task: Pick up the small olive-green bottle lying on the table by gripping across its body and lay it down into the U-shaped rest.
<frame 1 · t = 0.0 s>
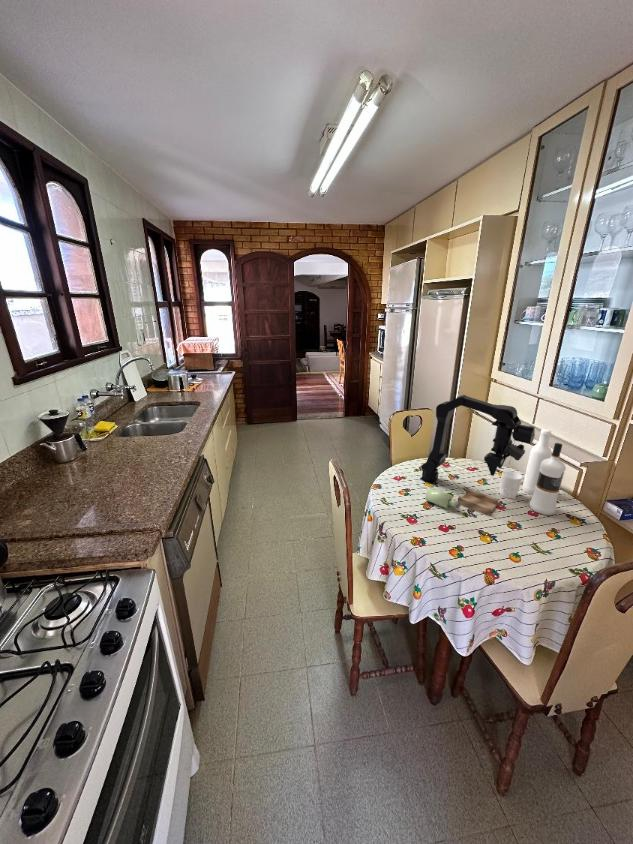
hand: (496, 471, 145), 15 cm above the table, fingers open, 9 cm apart
white cup: (507, 494, 156), on the table
bottle 2: (531, 491, 159), on the table
bottle: (437, 503, 149), on the table
vodka: (541, 510, 145), on the table
rest: (477, 504, 148), on the table
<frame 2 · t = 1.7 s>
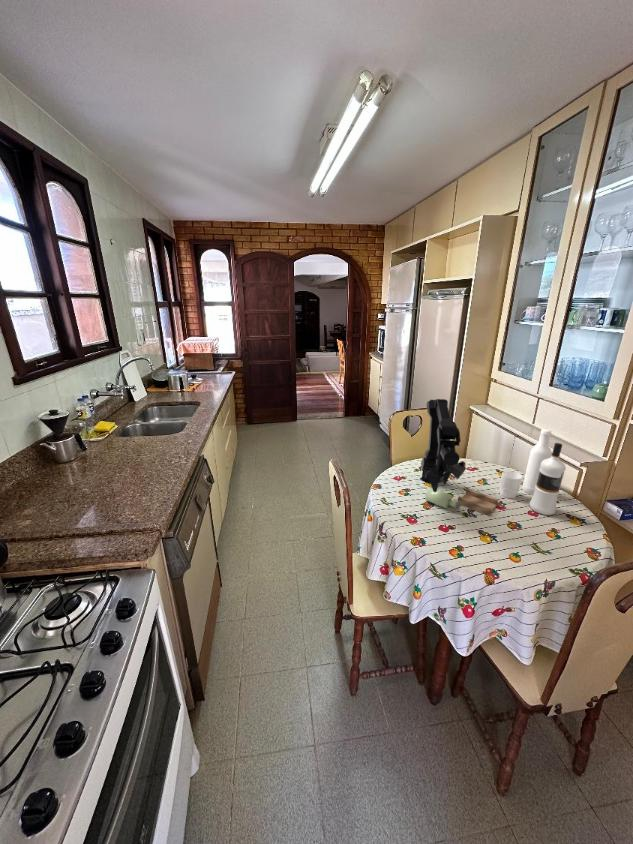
hand: (439, 487, 146), 8 cm above the table, fingers open, 9 cm apart
nothing on the table moved.
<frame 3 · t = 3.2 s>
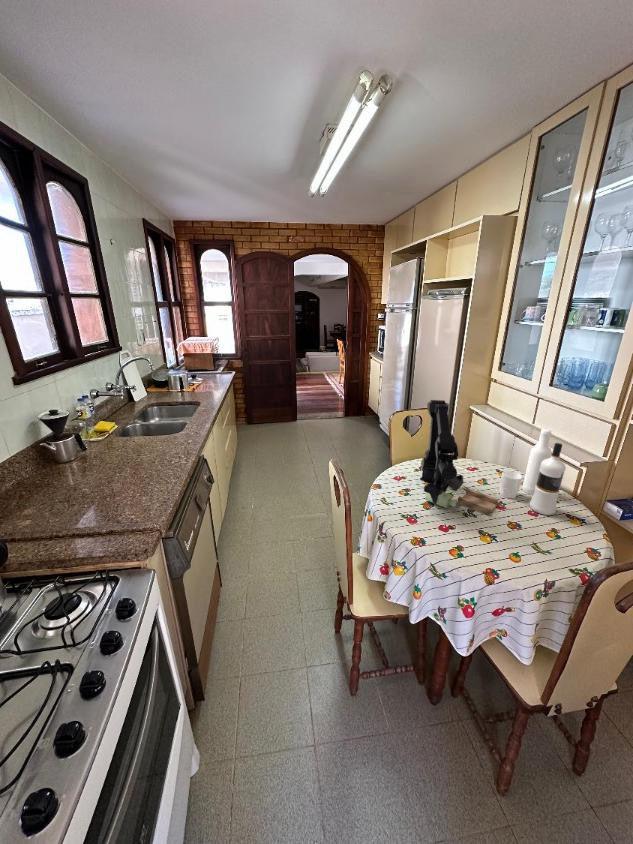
hand: (438, 500, 148), 2 cm above the table, fingers closed on bottle, 6 cm apart
bottle: (437, 503, 149), on the table, touching gripper
everything else where it was.
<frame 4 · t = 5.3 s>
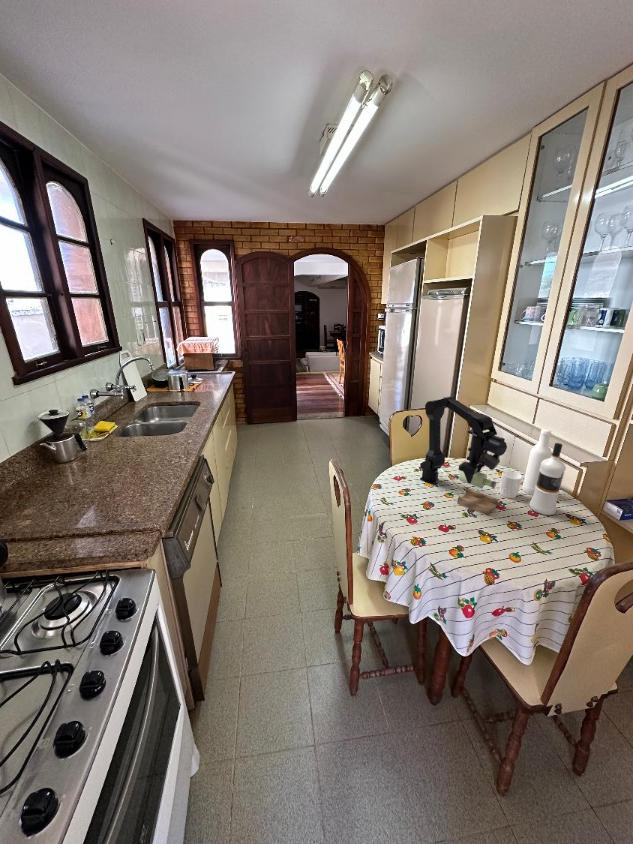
hand: (472, 480, 145), 11 cm above the table, fingers closed on bottle, 6 cm apart
bottle: (471, 483, 146), point 10 cm above the table, touching gripper
everything else where it was.
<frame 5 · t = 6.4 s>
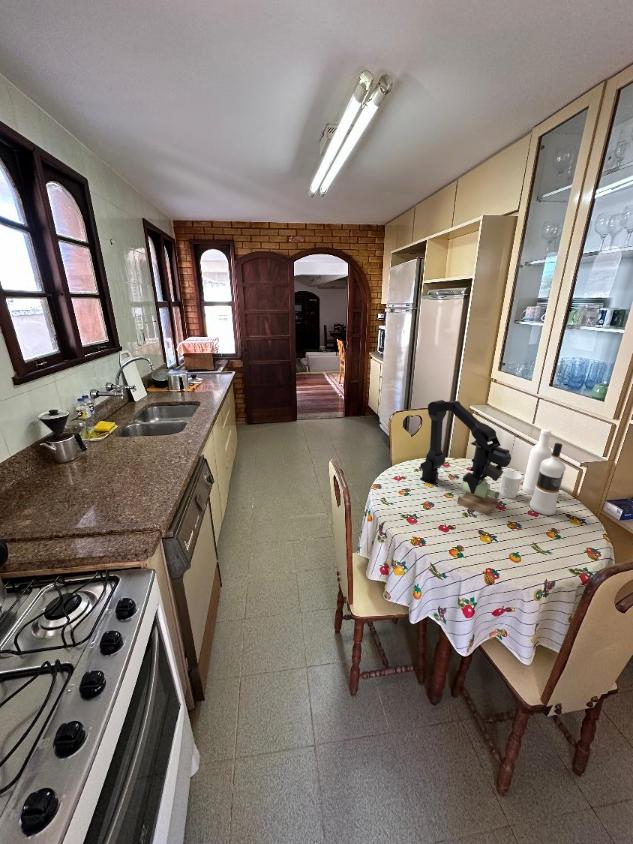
hand: (475, 490, 147), 6 cm above the table, fingers closed on bottle, 6 cm apart
bottle: (475, 493, 148), point 5 cm above the table, touching gripper
everything else where it was.
when the fingers open (5 cm above the table, at t = 7.4 s): bottle drops 3 cm, resting on rest.
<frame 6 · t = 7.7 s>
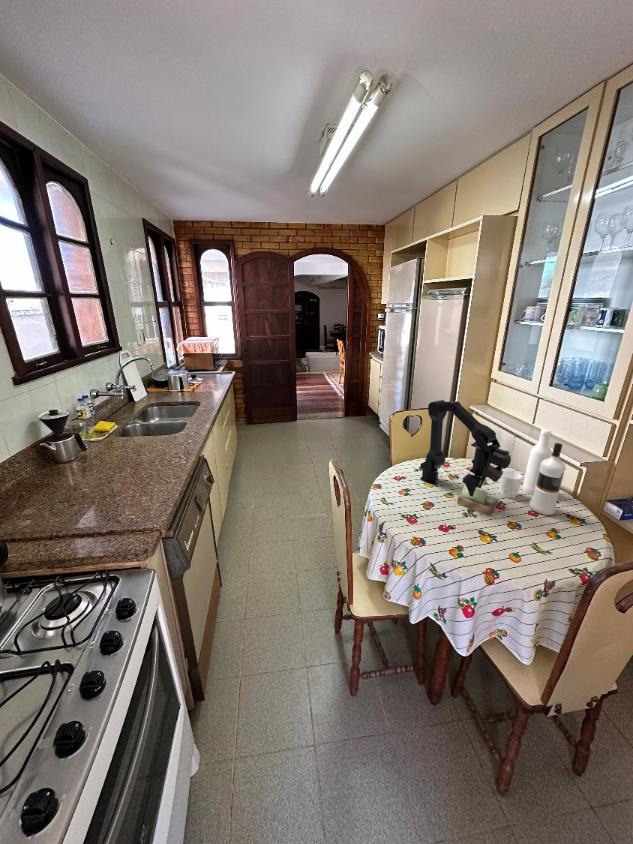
hand: (475, 491, 147), 5 cm above the table, fingers open, 9 cm apart
bottle: (473, 501, 149), point 1 cm above the table, touching rest
everything else where it was.
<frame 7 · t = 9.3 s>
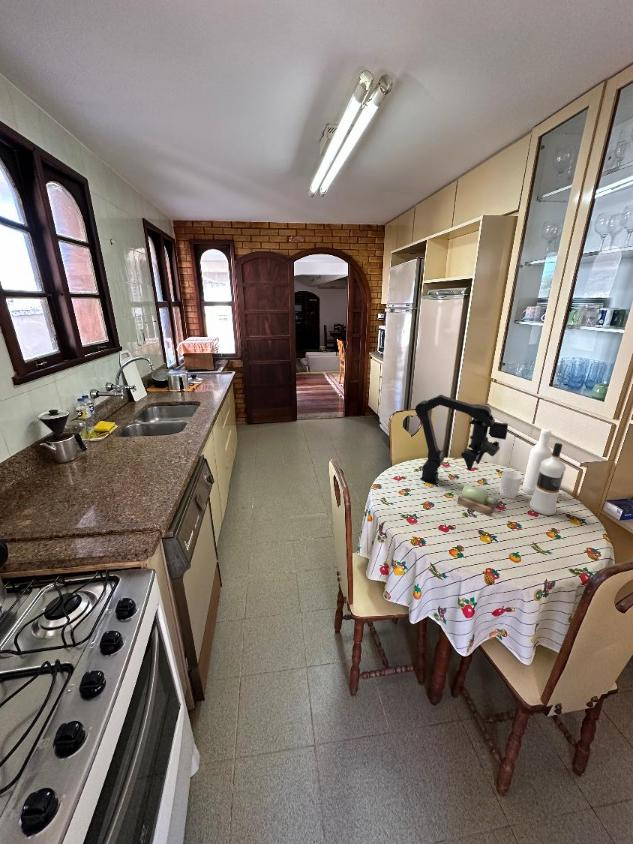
hand: (473, 466, 155), 12 cm above the table, fingers open, 9 cm apart
nothing on the table moved.
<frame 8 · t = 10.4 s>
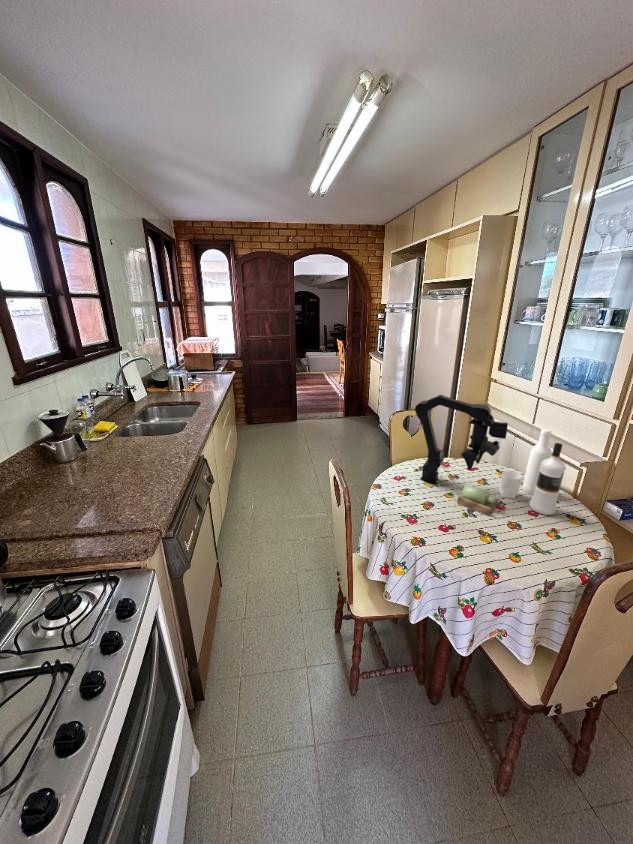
hand: (473, 466, 156), 12 cm above the table, fingers open, 9 cm apart
bottle: (473, 500, 149), point 1 cm above the table, tilted 11°, touching rest
everything else where it was.
at the end: bottle inside the target area on the rest (1.6 cm from its centre), point 1.0 cm above the rest's base; bottle touching rest; the gripper is holding nothing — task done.
